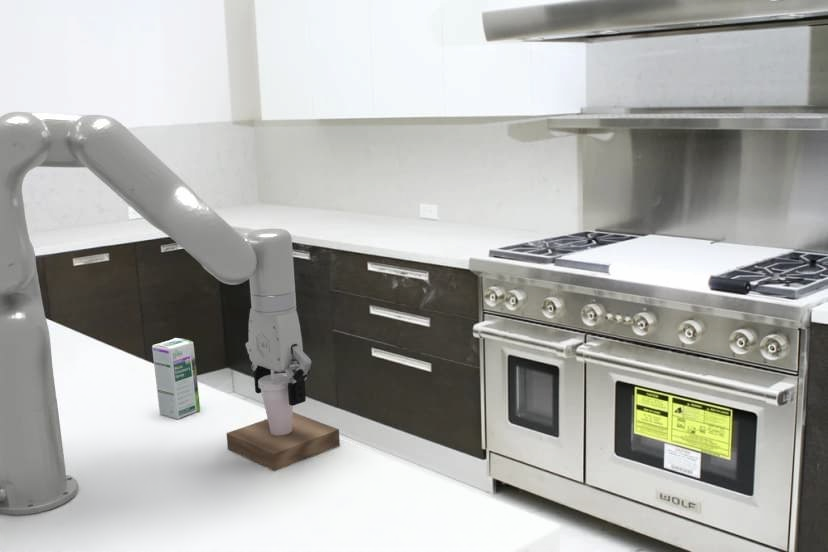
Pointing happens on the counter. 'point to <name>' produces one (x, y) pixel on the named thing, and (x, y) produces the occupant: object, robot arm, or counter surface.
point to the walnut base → (283, 442)
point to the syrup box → (176, 378)
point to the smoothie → (277, 402)
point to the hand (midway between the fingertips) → (280, 397)
